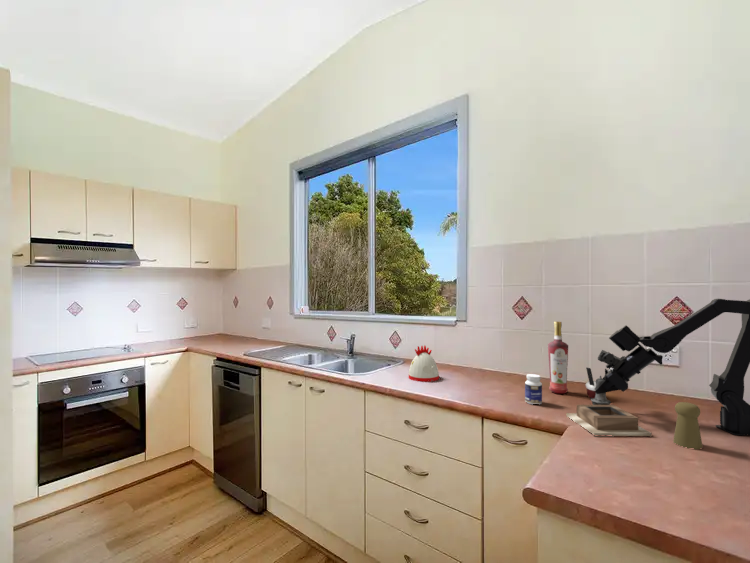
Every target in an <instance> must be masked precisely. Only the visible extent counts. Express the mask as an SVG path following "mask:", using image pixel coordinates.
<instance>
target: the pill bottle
mask: <svg viewBox="0 0 750 563" xmlns="http://www.w3.org/2000/svg"><path fill="white" fill-rule="evenodd" d="M524 402H525V403H526V402H527V403H526V404H529V405H533V404H539V405H542V404H543V383H542V382H541V375H539V374H535V373H527V374H526V381H525V382H524Z"/></svg>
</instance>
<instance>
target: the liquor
mask: <svg viewBox="0 0 750 563" xmlns="http://www.w3.org/2000/svg"><path fill="white" fill-rule="evenodd" d="M553 327H554V336H553V340H552V341H550V342H549V343H547V349H548V350H547V352H548V355H547V356H548V367H549V387H548V389H549V390H550V391H551V392H552V393H554V394H557V395H564V394H566V393H567V392H568V391H569V389H568V362H569V344H567V343H566V342H564V341H563V336H562V321H553Z"/></svg>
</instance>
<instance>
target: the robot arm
mask: <svg viewBox="0 0 750 563" xmlns="http://www.w3.org/2000/svg"><path fill="white" fill-rule="evenodd" d="M724 313H730V314H731V313H732V314H739V315H741V328H740V330H739V333H738V336H737V339H736V341H735V342H734V343H735V344H734V345H733V348H732V352H731V354H730V356H729V359H728V361H727V364H726V366H725V368H724V371H723V372H722V373H721V374H720V375H718V374H715V373H714V374H713V376H712V380H711V383H710V384H709V385H708V386H709V388H710V392H711V394H712V396H713V397H714V398H715V399H716V400H717V401H718V402H719V403H720V404H721V406H720V410H719V424H715V427H716V428H718V429H719V430H722V431H725V432H727V433H729V434H732V435H734V436H750V404H749V403H748V402H747V401H746V400H745V399H744V395H745V394H744V393H745V376H746V373H747V371H748V368H749V366H750V298H749V299H747V300H739V299H738V300H736V299H726V298H714V299H712V300H711V301H709V303H708V304H706V305H705V306H702V307H701V308H700V309H698V310H696V311H694V313H692V314H690V315H689V316H687V317H686V318H684V319H682V320H681V321H679V322H678V323H676V324H675V325H672V326H670V327H668V328H664V329H662V330H659V331H657V332H654V333H652V335H647V336H644V335H642V336H639V335H637V334H636V333H635V332H634V331H633V330H631V327H629V326H628V325H627V324H626V325H624V326H623V327H621V328H620V329H618V330H616V331H614V332H613V333H612V334H611V335H610V336H609V337H608V339H609V340H610V341H611V342H613V344H614V345H615V346H616V347H617V348H619V349H620V350H621V351H622V352H624V351H626V352H629V353H628V354H627V355H622V356H621V357H618V356H617V355H615V354H613V353H610V352H609V351H606V350H603V349H601V351H600V353H599V355H598V357H597V360H598V361H599V362H600V363H605V364H606V365H605V368H604V376H603V377H602V379H604V382H603V383H602V384H601V385H600V386H599V387H598V388H597V389H596V390H595V393H596V394H601V393H606V394H607V393H609V392H615V391H621V392H623V393H624V392H625V391H627V390H628V389H629V381H631V378H633V377H634V376H636V375H639V374H641V371H642V370H644V369H645V368H647V367H648V366H649V365H650V364H652V363H653V362H657V363H658V364H659V365H663V357H664V356H663V355H662V354H666V353H669V352H671V351H672V350H674V349H675V348H676V347H677V346H678V345H680V343H681V342H682V341H683V339H684V338H686V337H687V336H688V335H690V334H691V333H693V332H694V331H697V330H698V329H699V328H701V327H703V326H705V325H706V324H707V323H710V322H711V321H712V320H714V319H715V318H717V317H719V316H720V315H722V314H724ZM645 347H648V348H645ZM651 348H652V349H653V350H654V351H653V350H652V349H651ZM655 351H656V352H658V353H661V354H657V353H656V352H655ZM595 388H596V387H595Z"/></svg>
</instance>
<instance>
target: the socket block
mask: <svg viewBox="0 0 750 563" xmlns="http://www.w3.org/2000/svg"><path fill="white" fill-rule="evenodd" d="M565 415H566V418H568V417H569V418H570V419H569V418H568V419H569V420H571V419H572V420H573V421H574V423H575V422H576V423H578V424H579V425H581V426H582V427H584V428H585V429H587V430H588V431H589V432H591V433H592V434H594V435H612V436H611V437H614V436H650V437H651V438H652V432H651V431H649V430H647V429H645V428H643V427H641V426H639V417H638V416H635V415H633V414H632V413H630V412H628V411H627V410H626V411H625V410H624V409H622V408H620V407H619V406H616V405H614V404H610V405H593V404H576V412H572V413H571V412H570V413H569V412H568V413H566V414H565ZM572 420H571V421H572ZM573 421H572V422H573ZM576 423H575V424H576ZM578 424H577V425H578ZM579 425H578V426H579ZM582 427H581V428H582ZM589 432H588V433H589Z"/></svg>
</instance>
